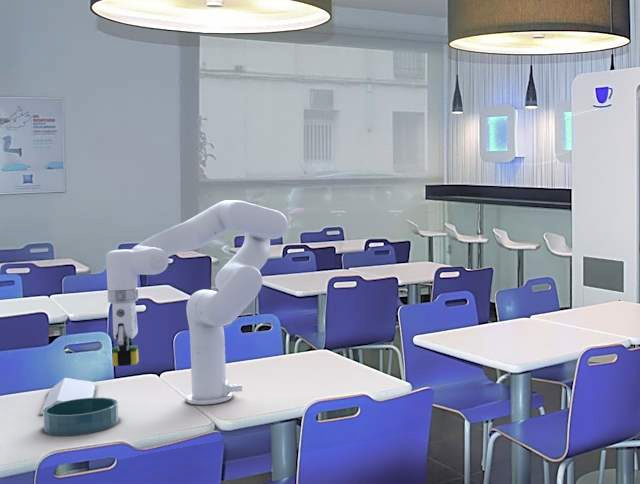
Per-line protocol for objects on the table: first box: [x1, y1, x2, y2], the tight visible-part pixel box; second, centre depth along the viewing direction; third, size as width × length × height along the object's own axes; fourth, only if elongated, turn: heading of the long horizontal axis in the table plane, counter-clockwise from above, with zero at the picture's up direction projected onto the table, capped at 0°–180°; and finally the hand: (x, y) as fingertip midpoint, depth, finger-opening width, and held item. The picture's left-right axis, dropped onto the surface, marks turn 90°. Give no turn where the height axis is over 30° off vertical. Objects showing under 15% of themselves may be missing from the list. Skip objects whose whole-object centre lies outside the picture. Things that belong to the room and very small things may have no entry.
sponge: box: [111, 344, 140, 367], centre depth 236 cm, size 6×4×4 cm, turn 103°
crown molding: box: [40, 377, 96, 416], centre depth 255 cm, size 29×12×4 cm, turn 21°
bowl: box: [42, 397, 119, 436], centre depth 229 cm, size 18×18×5 cm
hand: (126, 362), depth 236 cm, fingers closed on sponge, 4 cm apart
